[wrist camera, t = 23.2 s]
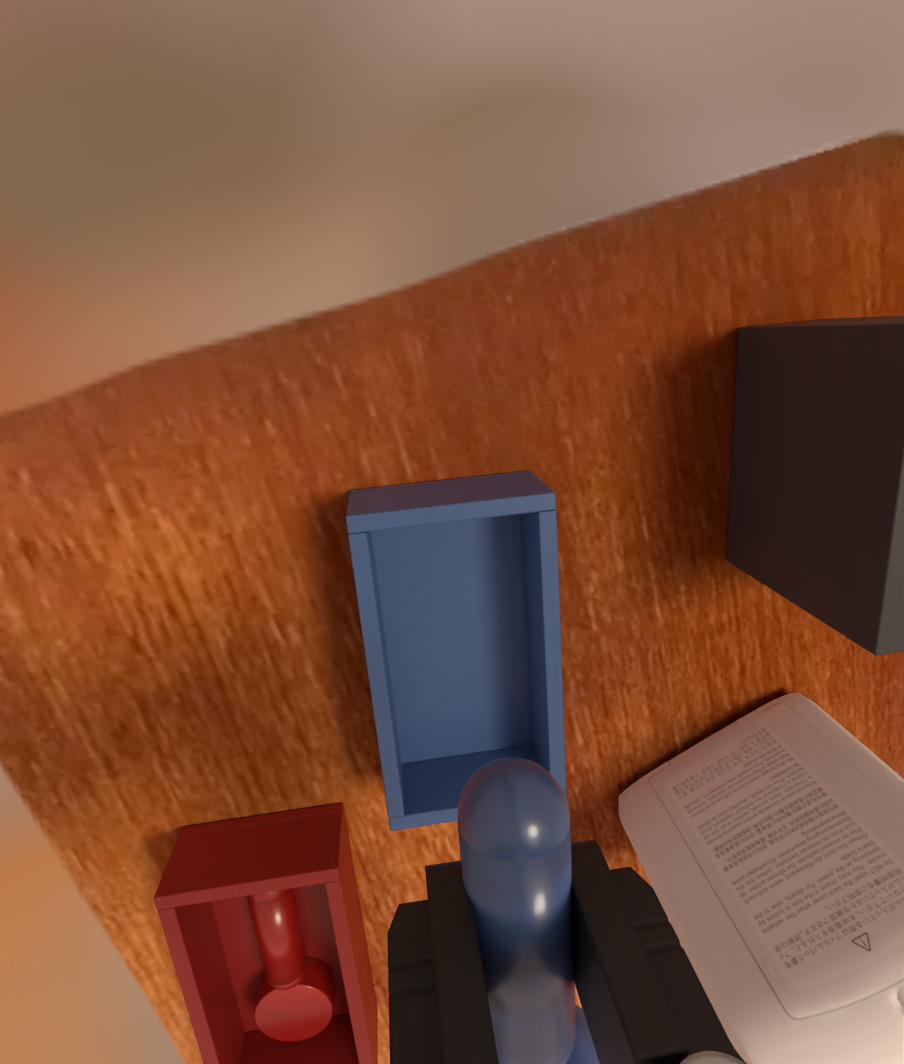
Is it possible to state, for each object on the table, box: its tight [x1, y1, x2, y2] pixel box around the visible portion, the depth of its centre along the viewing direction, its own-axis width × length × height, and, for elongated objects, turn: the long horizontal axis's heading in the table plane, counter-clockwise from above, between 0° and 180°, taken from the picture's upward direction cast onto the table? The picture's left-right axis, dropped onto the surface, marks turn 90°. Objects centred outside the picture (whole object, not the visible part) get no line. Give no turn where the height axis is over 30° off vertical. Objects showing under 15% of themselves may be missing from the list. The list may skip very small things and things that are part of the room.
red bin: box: [154, 803, 378, 1064], centre depth 27 cm, size 12×7×4 cm, turn 5°
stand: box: [726, 316, 904, 655], centre depth 20 cm, size 9×4×8 cm, turn 5°
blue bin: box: [346, 471, 566, 831], centre depth 23 cm, size 12×7×4 cm, turn 5°
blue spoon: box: [457, 757, 600, 1064], centre depth 11 cm, size 10×3×2 cm, turn 5°
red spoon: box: [247, 888, 335, 1041], centre depth 27 cm, size 10×3×2 cm, turn 5°
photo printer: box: [618, 692, 904, 1064], centre depth 22 cm, size 10×4×12 cm, turn 123°
